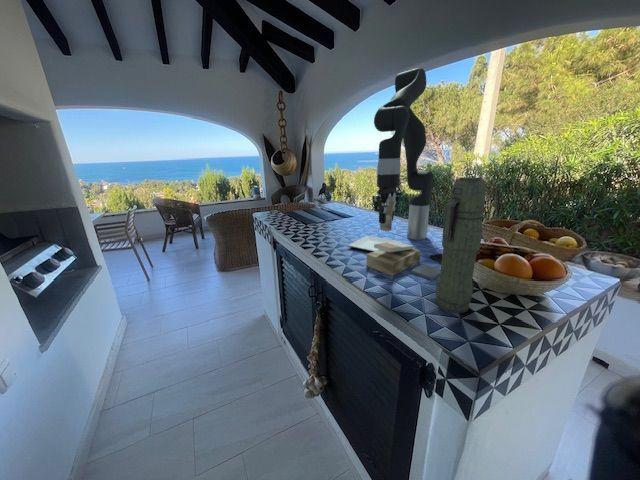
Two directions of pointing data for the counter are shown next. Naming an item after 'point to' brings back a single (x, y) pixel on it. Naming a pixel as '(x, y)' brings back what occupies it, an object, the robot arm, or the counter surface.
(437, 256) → the phone
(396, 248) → the white flat slab
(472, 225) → the thermos
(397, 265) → the switch block
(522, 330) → the counter surface
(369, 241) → the plate
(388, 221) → the dowel
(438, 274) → the slate pad
